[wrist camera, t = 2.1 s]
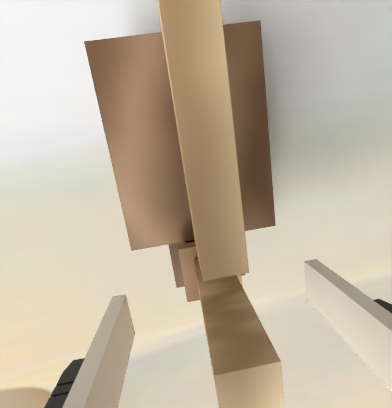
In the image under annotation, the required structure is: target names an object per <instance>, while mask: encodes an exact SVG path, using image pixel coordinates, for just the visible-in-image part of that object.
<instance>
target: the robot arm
mask: <svg viewBox="0 0 392 408" xmlns="http://www.w3.org/2000/svg"><path fill="white" fill-rule="evenodd" d="M305 281H306V300H307V301H308V302H309V303H310V304H311V305H312V306H313V307H314V308H315V309H316V311H317V312H318V313H319V314H320V315H321V316H322V317H323V318H324V319H325V320H326V321H327V322H328V324H329V325H330V326H331V327H332V328H333V329H334V330H335V331H336V332H337V333H338V334H339V335H340V337H341V338H342V339H343V340H344V341H345V342H346V343H347V344H348V345H349V346H350V347H351V348H352V350H353V351H354V352H355V353H356V354H357V355H358V356H359V357H360V358H361V359H362V360H363V362H364V363H365V364H366V365H367V366H368V367H369V368H370V369H371V370H372V371H373V372H374V373H375V375H376V376H377V377H378V378H379V379H380V380H381V381H382V382H383V383H384V384H385V385H386V386H387V388H388V389H389V390H390V391H391V392H392V304H390V303H387V302H385V301H383V300H380V299H376V300H372V299H371V298H369V297H368V296H366V295H365V294H364V293H362V292H361V291H360V290H358V289H357V288H355V287H354V286H353V285H351V284H350V283H348V282H347V281H346V280H344V279H343V278H342V277H340V276H339V275H337V274H336V273H335V272H333V271H332V270H330V269H329V268H328V267H326V266H325V265H323V264H322V263H321V262H319V261H318V260H317V259H315V260H309V261H305ZM134 335H135V331H134V327H133V323H132V319H131V315H130V311H129V307H128V303H127V299H126V295H120V296H114V297H112V299H111V302H110V304H109V306H108V308H107V310H106V313H105V315H104V317H103V319H102V321H101V324H100V326H99V328H98V330H97V332H96V335H95V337H94V339H93V341H92V343H91V346H90V348H89V350H88V352H87V355H86V357H85V358H83V359H78V360H73V361H72V363H71V364H70V365H69V366H68V367H67V368H66V369H65V370H64V372H63V373H62V375H61V377H60V379H59V381H58V383H57V386H56V387H55V389H54V390H53V392H52V394H51V398H49V400H48V402H47V404H46V406H45V408H118V403H119V399H120V395H121V390H122V386H123V382H124V378H125V373H126V369H127V365H128V360H129V356H130V352H131V348H132V343H133V339H134Z"/></svg>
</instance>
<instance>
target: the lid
mask: <svg viewBox="0 0 392 408" xmlns="http://www.w3.org/2000/svg"><path fill="white" fill-rule="evenodd" d="M157 4H158V11H159V17H160V23H161V30H162V32H160V33H152V34H144V35H135V36H127V37H118V38H110V39H102V40H93V41H85V42H84V43H85V47H86V52H87V56H88V60H89V65H90V69H91V74H92V78H93V82H94V87H95V91H96V96H97V100H98V104H99V109H100V113H101V118H102V122H103V127H104V131H105V135H106V140H107V144H108V149H109V153H110V157H111V162H112V166H113V171H114V175H115V179H116V184H117V188H118V193H119V197H120V201H121V206H122V210H123V215H124V219H125V223H126V228H127V232H128V237H129V241H130V246H131V250H138V249H144V248H149V247H155V246H161V245H167V244H169V249H170V254H171V260H172V265H173V270H174V276H175V281H176V286H177V288H178V287H183V286H185V285H184V279H183V274H182V268H181V263H180V257H179V251H178V244H183V243H186V241H190V240H195V244H196V250H197V256H198V261H199V265H200V270H201V274H202V279H203V281H207V280H212V279H217V278H223V277H228V276H234V275H239V274H241V276H242V275H245V273H249V267H248V258H247V248H246V239H245V231H247V230H253V229H259V228H264V227H270V226H275V213H274V200H273V187H272V173H271V160H270V146H269V133H268V119H267V106H266V93H265V79H264V66H263V52H262V39H261V25H260V21H252V22H244V23H235V24H227V25H223V23H222V13H221V4H220V0H157Z"/></svg>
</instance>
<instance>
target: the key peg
mask: <svg viewBox="0 0 392 408" xmlns="http://www.w3.org/2000/svg"><path fill="white" fill-rule="evenodd" d="M178 251H179V257H180V263H181V268H182V274H183V279H184V285H185V291H186V296H187V302H191V301H196V300H201V306H202V312H203V318H204V323H205V329H206V335H207V341H208V346H209V352H210V358H211V364H212V369H213V375H214V381H215V387H216V392H217V398H218V404H219V408H285V407H284V394H283V382H282V369H281V361H280V359H279V357H278V355H277V353H276V351H275V349H274V347H273V345H272V343H271V341H270V340H269V338H268V336H267V334H266V332H265V330H264V328H263V326H262V324H261V322H260V320H259V318H258V316H257V314H256V312H255V310H254V309H253V307H252V305H251V303H250V301H249V299H248V297H247V295H246V293H245V291H244V289H243V287H242V279H241V274H239V275H234V276H228V277H223V278H217V279H212V280H207V281H203V279H202V274H201V270H200V265H199V261H198V256H197V250H196V244H195V240H190V242H189V243H183V244H178Z"/></svg>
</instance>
